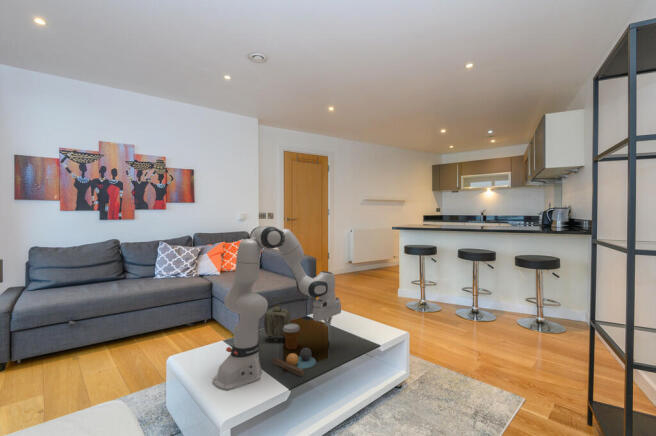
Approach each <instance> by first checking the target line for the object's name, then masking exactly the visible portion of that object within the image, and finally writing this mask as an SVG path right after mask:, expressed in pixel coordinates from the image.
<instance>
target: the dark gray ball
mask: <svg viewBox="0 0 656 436" xmlns="http://www.w3.org/2000/svg"><path fill="white" fill-rule="evenodd" d="M312 354H313V353H312V350H311V349H310V348H309V347H303V348H302V349H301V350H300V352H299V356H300V357H301V358H302V359H303V360H308V359H310V357H312Z"/></svg>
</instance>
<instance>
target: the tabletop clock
mask: <svg viewBox="0 0 656 436" xmlns="http://www.w3.org/2000/svg"><path fill="white" fill-rule="evenodd" d="M273 301H280V302H281V303H276V304H275V303H273ZM270 303H271V305H273V308H271V309H269V310H267V311H266V313H265V314H264V319H263V327H264V328H263V329H264V333H265V335H266V336H268V339H271V338H272V337H275V339H274V341H275V342H276V343H277V342H278V341H279V339H278V337H285V336H284V330H283V328H284V326H285V325H287V324H291V321H292V320H291V313H290V311H289V310H288V309H286V308H281V306H282V305H283V303H284V302H283V300H282V299H280V298H273V299H272V300H271V301H270Z"/></svg>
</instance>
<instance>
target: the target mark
mask: <svg viewBox="0 0 656 436" xmlns="http://www.w3.org/2000/svg"><path fill="white" fill-rule="evenodd" d="M297 356H298V355H297ZM316 363H317V360H316V359H315V358H314V357H312V356H311V357H310V359H308V360H303V359H302V358H301V357H300V355H299V356H298V363H297V364H296V365H295V366H296V367H298V368H301V369H303V370H304V369H309V368H313V366H314V365H316Z"/></svg>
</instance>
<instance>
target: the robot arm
mask: <svg viewBox="0 0 656 436" xmlns="http://www.w3.org/2000/svg"><path fill="white" fill-rule="evenodd" d="M276 248H277V249H278V251H279V253H280V255H281V256H282V258H283V260H284V261H285V262H286V264H287V267H288V268H289V270H290V272H291V273H292V275H293V277H294V280H295V282H296V288H297V290H298V292H299V293H301V294H302V295H306V296H308V297H310V298H317V299H316V300H314V301H313V302H312V305H313V308H312V319H313V321H315V322H321V321H324V326H326V327H328V326H330V325H331V324H332V319H333V317H335V316H337V315H340V314H341V313H342V304H341V299H340V298H339V297H337V296H336V292H335V289H336V278H335V274H334V273H333V272H332V271H327V270H325V271H320V272H319V274H318V275H316V276H315V277H310V276H309V275H307V273H306V272H305V270H304V268H303V266H302V264H301V262H302V261H303V259H304V256H305V252H304V250H303V247H302V245H301V243H300V241H299V240H298V238H297V237H296V235H295V234H294V233H293V232H292V231H291V229H289V228H282V229H279V228H277V227H275V226H270V225H269V226H268V225H260V226H257V227H255V228H253V229H252V231H250V233H249V235H248V238H246V239H243V240H241V241H240V242H239V244H238V248H237V252H236V258H235V259H236V261H235V271H234V280H233V283H232V285H231V288H230V290H229V291H228V292H227V293H226V295H225V296H224V302H223V303H224V306H225V307H226V308H227V310H229V311H231V312H233V313H234V314H238V315H239V321H238V323H237V324H236V325H235V326H234V328H233V346H232V347H230V346H227V347H226V350H225V352H228V353H230V354H229V355H228V356H227V357H226V358H225V360H224V361H223V362H222V363H221V364H220V365H219V367H218V369H217V374H216V375H215V376H213V378H212V380H211V381H212V384H213V386H215V387H216V388H218V389H220V390H223V391H231V390H234V389H237V388H240V387H242V386H245V385H247V384H251V383H253V382H256V381H259V380H260V379H261V377H260V376H261V375H262V372H263V370H262V366H261V363H260V356H259V351H260V342H259V324H260V321H261V318H262V317H263V316H265V314H266V313H267V312H268V306H269V303H268V300H267V298H265V297H264V296H262V295H261V294H259V293H256V292H252V290H253V287H254V284H255V283H256V282H257V281H258V280H259V278H260V264H261V263H260V262H261V254H262V251H263V250H264V249H265V250H266V249H269V250H272V249H276Z"/></svg>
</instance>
